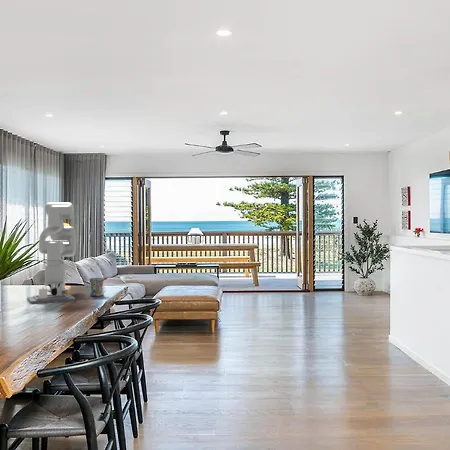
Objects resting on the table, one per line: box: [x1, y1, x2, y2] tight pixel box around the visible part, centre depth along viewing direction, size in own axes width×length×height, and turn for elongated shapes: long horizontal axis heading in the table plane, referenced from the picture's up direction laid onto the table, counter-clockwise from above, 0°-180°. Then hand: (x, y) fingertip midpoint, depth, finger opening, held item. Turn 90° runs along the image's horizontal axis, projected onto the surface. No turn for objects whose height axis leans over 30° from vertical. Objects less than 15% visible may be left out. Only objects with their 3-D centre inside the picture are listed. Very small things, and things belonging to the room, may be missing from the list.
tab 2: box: [53, 285, 63, 296], centre depth 305 cm, size 4×4×7 cm
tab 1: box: [38, 286, 48, 299], centre depth 294 cm, size 4×4×7 cm
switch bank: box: [26, 293, 76, 305], centre depth 299 cm, size 18×24×2 cm
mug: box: [88, 277, 105, 297], centre depth 315 cm, size 12×9×11 cm
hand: (54, 295), depth 296 cm, fingers closed
